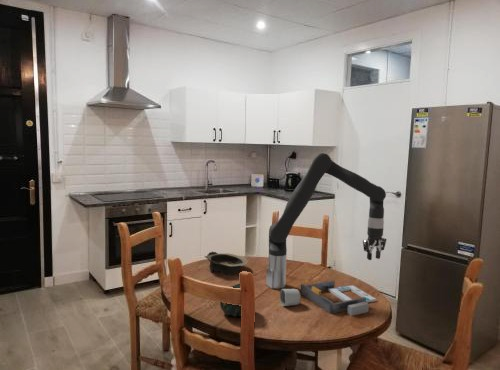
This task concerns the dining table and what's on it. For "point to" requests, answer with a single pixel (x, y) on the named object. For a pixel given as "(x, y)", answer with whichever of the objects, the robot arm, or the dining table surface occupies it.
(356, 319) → the dining table surface
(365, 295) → the grey flat arch
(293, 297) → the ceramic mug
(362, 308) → the panel
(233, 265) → the stone bowl
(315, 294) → the rack bay
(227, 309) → the squash
